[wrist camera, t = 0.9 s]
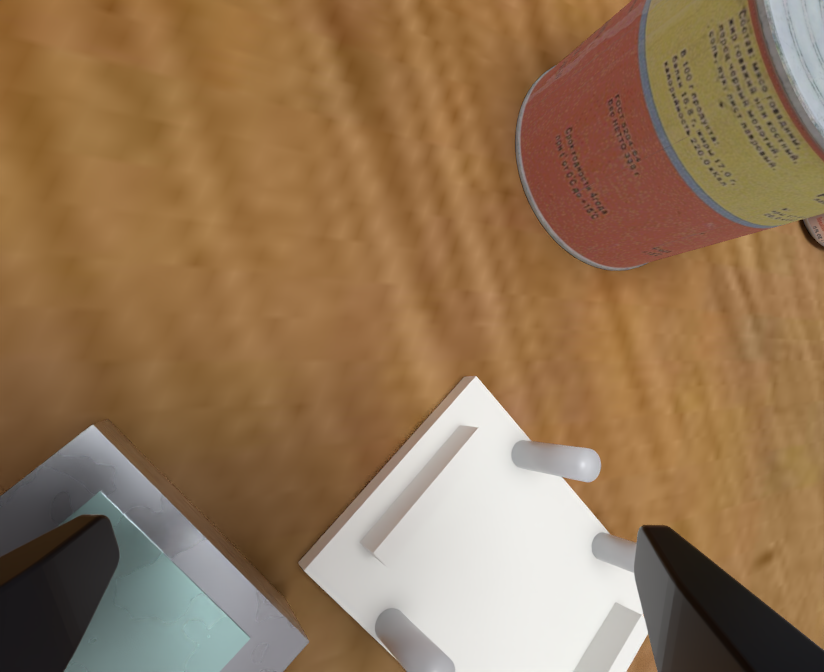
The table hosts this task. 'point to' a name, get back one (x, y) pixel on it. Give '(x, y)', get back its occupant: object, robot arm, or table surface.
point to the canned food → (678, 129)
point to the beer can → (816, 227)
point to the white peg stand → (483, 552)
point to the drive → (154, 567)
